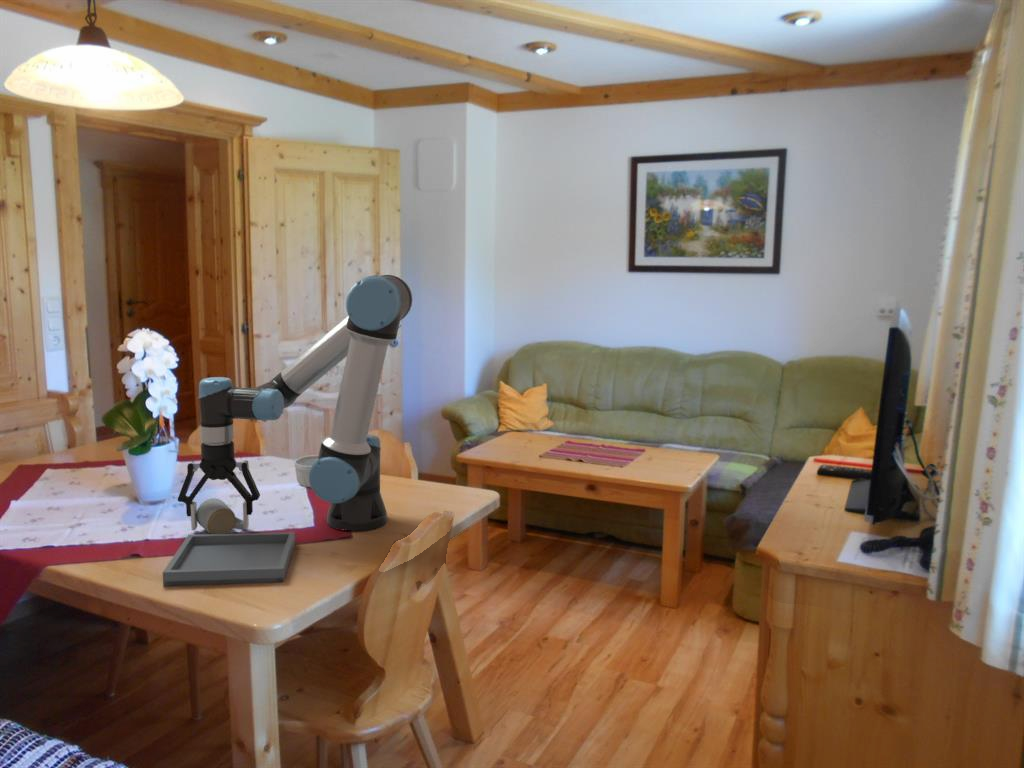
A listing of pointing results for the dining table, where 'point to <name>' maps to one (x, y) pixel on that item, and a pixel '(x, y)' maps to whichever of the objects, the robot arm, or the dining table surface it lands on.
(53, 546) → the dining table surface
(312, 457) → the ramekin
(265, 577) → the slate tray
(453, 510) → the dining table surface
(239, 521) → the ceramic mug
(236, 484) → the robot arm
